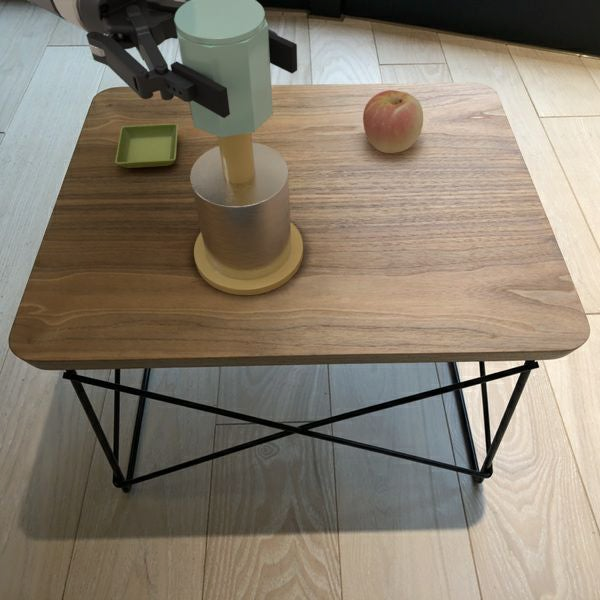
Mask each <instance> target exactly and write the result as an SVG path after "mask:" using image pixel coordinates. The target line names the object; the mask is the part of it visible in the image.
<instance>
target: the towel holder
mask: <svg viewBox="0 0 600 600" xmlns="http://www.w3.org/2000/svg"><path fill="white" fill-rule="evenodd" d="M252 133H253V132H251V133H245V134H239V135H233V136H227V137H219V136H217V142H218V145H217V146H214V147H213V148H211V149H208V150H207V151H206V152H204V153H203V154H201V156H199V158H197V159H196V161H195V162H194V164H193V165H192V167H191V170H190V175H189V179H190V185H191V190H192V195H193V199H194V205H195V209H196V214H197V218H198V223H199V229H200V232H199V234H198V236H197V237H196V241H195V243H194V247H193V257H194V258H193V259H194V263H195V266H196V269H197V271H198V274H199V275H200V276H201V277H202V279H204V281H205V282H206V283H207V284H209V285H210V286H211V287H213V288H215V290H216V289H217V290H219V291H221V292H223V293H227V294H230V295H237V296H255V295H261V294H264V293H265V294H266V293H269V292H271V291H274V290H276V289H278V288H280V287H281V286H284V285H285V284H286V283H288V282H289V281H290V280H291V279H292V278H293V277H294V276H295V275H296V273H297V272H298V270H299V269H300V267H301V265H302V262H303V259H304V242H303V238H302V234H301V233H300V232H301V231H299V229H298V227H296V225H295V224H294V223H293V222H292V221H291V205H290V182H289V181H290V180H289V167H288V163H287V162H286V159H285V158H284V156H283V155H282V154H280V152H279V151H277V150H275V149H274V148H272V147H270V146H268V145H266V144H263V143H258V142H254V141H253V135H252Z"/></svg>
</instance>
